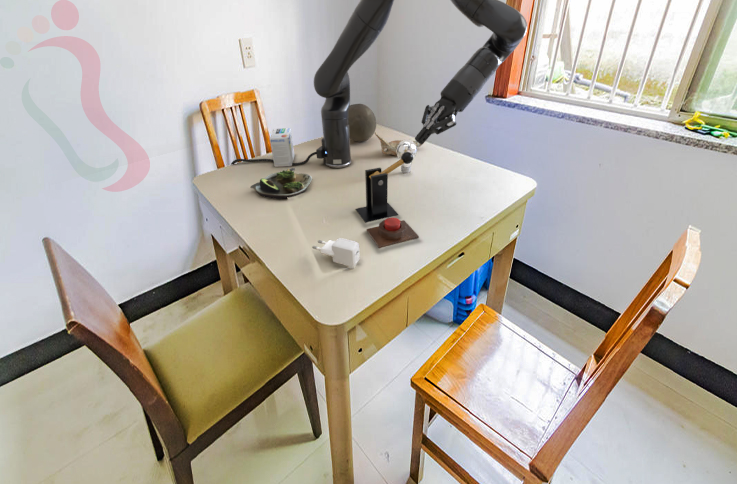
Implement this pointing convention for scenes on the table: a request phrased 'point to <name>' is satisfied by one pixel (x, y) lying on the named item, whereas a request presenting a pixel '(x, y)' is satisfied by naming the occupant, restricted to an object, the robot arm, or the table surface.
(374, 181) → the switch bracket
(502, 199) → the table surface
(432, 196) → the table surface
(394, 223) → the button
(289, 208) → the table surface
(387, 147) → the oil lamp
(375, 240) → the button block
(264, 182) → the salad plate
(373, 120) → the cantaloupe
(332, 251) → the power adapter
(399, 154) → the light bulb
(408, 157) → the lever
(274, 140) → the light bulb box
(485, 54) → the robot arm
